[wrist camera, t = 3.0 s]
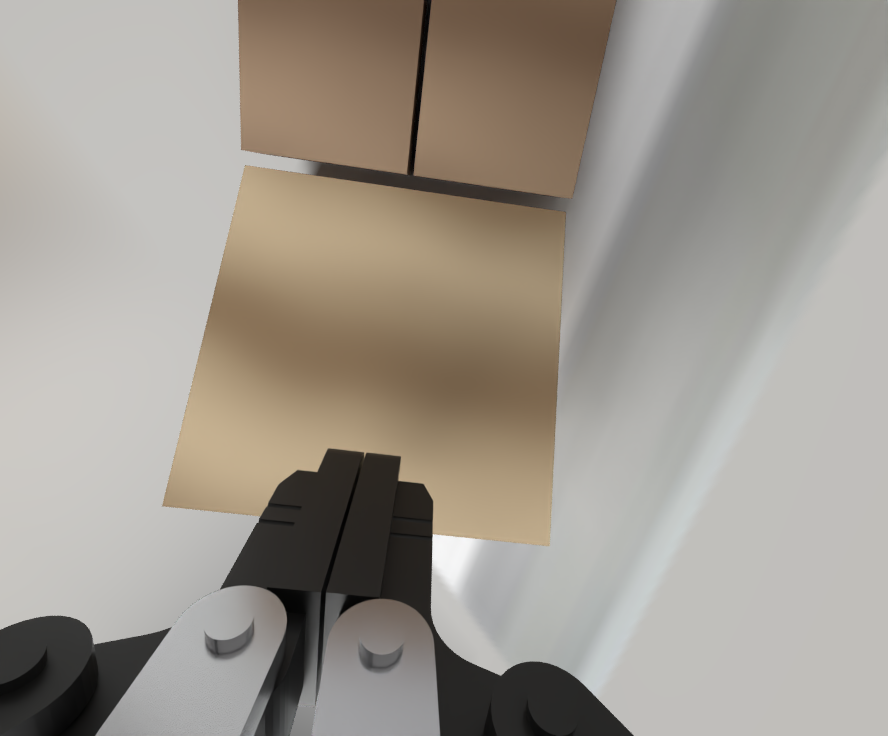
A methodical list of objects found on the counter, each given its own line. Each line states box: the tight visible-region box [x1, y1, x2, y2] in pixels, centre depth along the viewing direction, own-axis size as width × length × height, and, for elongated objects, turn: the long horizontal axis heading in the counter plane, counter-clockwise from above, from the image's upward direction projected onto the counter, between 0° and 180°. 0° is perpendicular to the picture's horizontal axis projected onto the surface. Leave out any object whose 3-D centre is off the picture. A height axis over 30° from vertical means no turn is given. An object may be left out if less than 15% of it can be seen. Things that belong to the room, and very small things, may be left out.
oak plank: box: [163, 165, 566, 546], centre depth 13 cm, size 10×10×2 cm
